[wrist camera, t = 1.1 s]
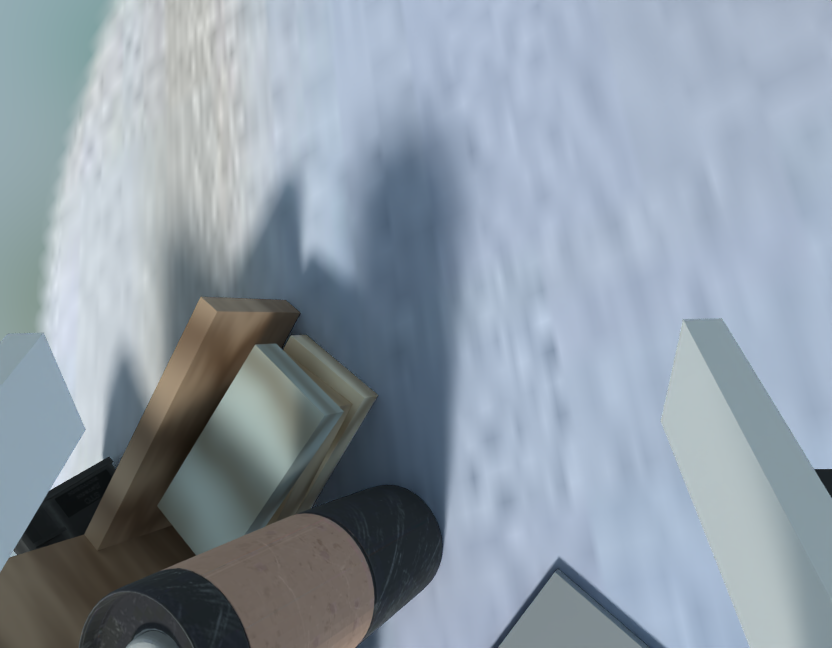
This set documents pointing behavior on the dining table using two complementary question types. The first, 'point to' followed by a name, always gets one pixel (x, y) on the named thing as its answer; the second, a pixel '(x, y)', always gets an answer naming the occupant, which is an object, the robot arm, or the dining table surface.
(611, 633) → the grey mat
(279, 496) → the offcut stack
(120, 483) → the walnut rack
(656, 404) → the dining table surface
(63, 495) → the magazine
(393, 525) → the travel mug
